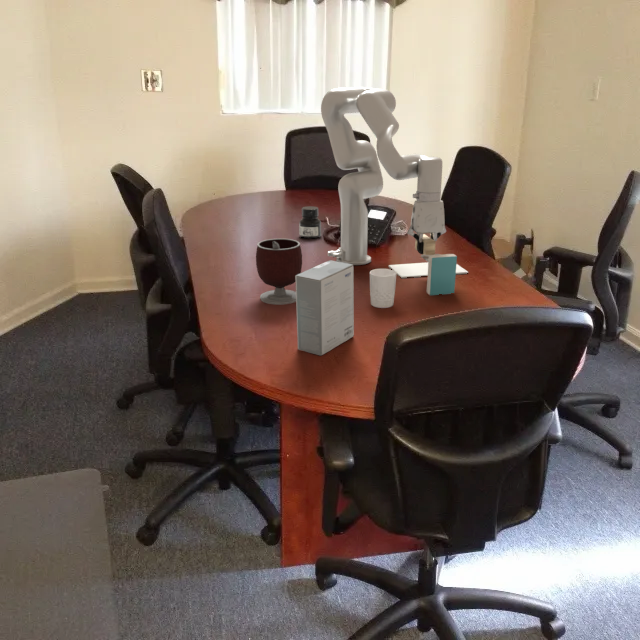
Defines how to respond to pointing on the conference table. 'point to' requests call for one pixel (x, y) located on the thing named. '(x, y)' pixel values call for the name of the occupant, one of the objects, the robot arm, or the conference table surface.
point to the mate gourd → (278, 268)
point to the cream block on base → (427, 247)
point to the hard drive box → (325, 306)
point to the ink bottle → (310, 223)
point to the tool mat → (417, 269)
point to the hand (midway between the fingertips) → (425, 252)
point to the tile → (441, 274)
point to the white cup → (382, 287)
